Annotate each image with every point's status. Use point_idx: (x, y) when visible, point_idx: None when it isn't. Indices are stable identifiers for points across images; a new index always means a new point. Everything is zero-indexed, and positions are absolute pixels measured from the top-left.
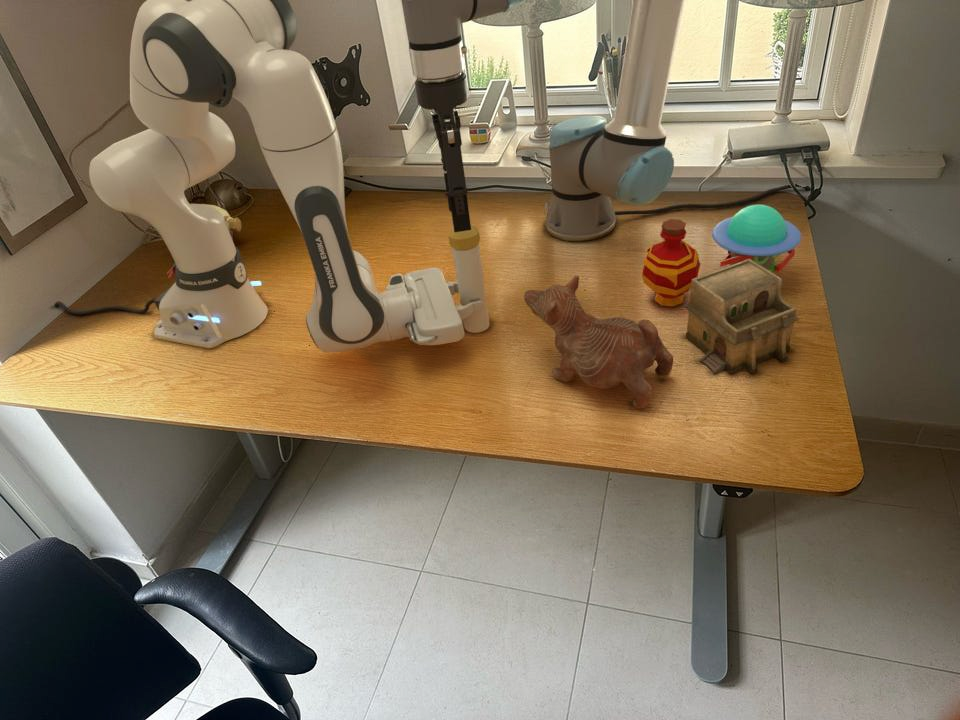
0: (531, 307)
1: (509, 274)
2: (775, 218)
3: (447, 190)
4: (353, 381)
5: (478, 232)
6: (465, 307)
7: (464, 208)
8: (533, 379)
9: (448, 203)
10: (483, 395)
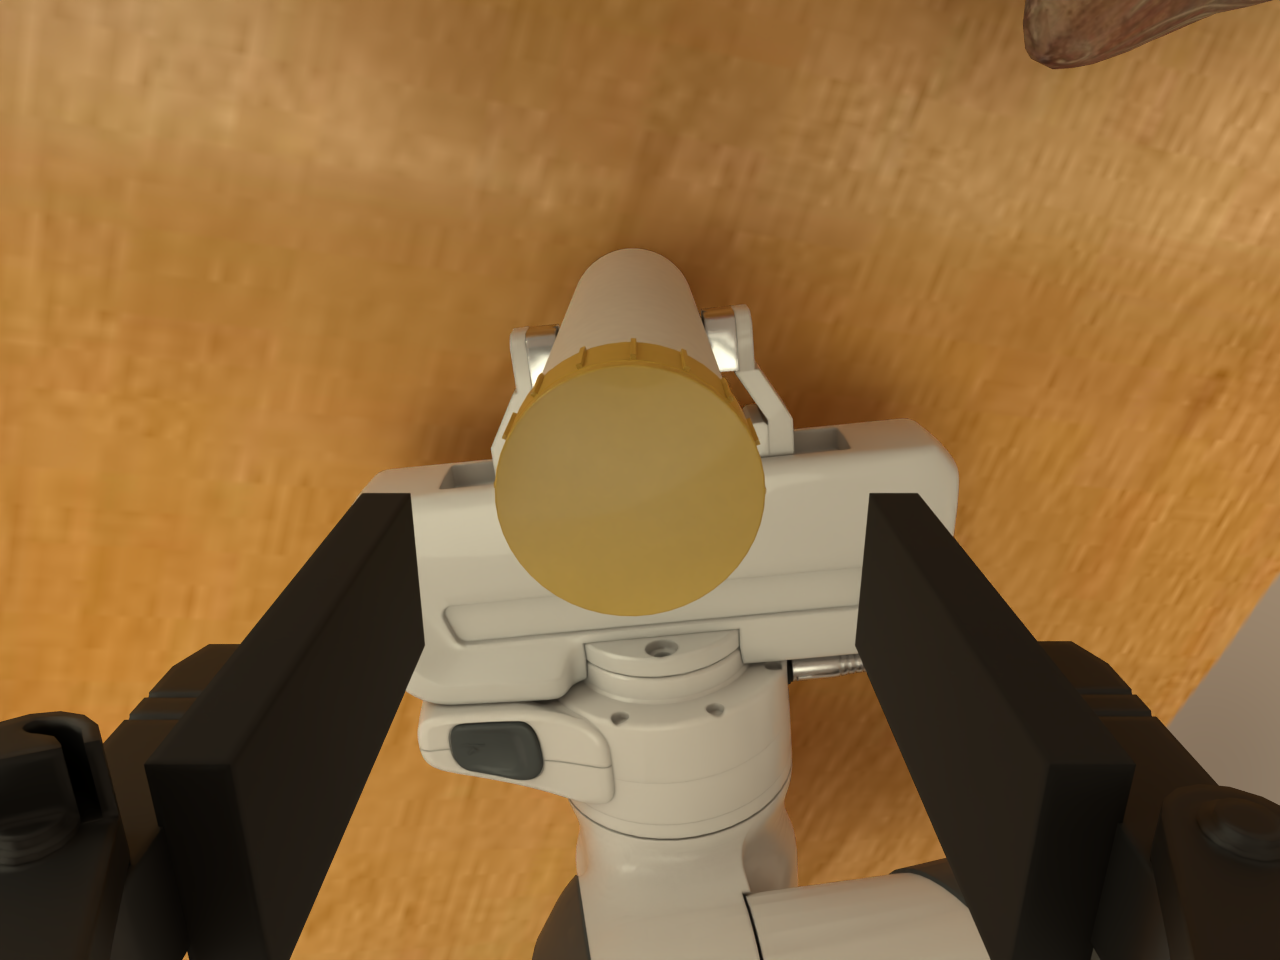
0: (1154, 38)
1: (181, 57)
2: None
3: (355, 792)
4: (843, 790)
5: (642, 359)
6: (779, 408)
7: (1129, 692)
8: (1130, 114)
9: (402, 696)
10: (1131, 350)
